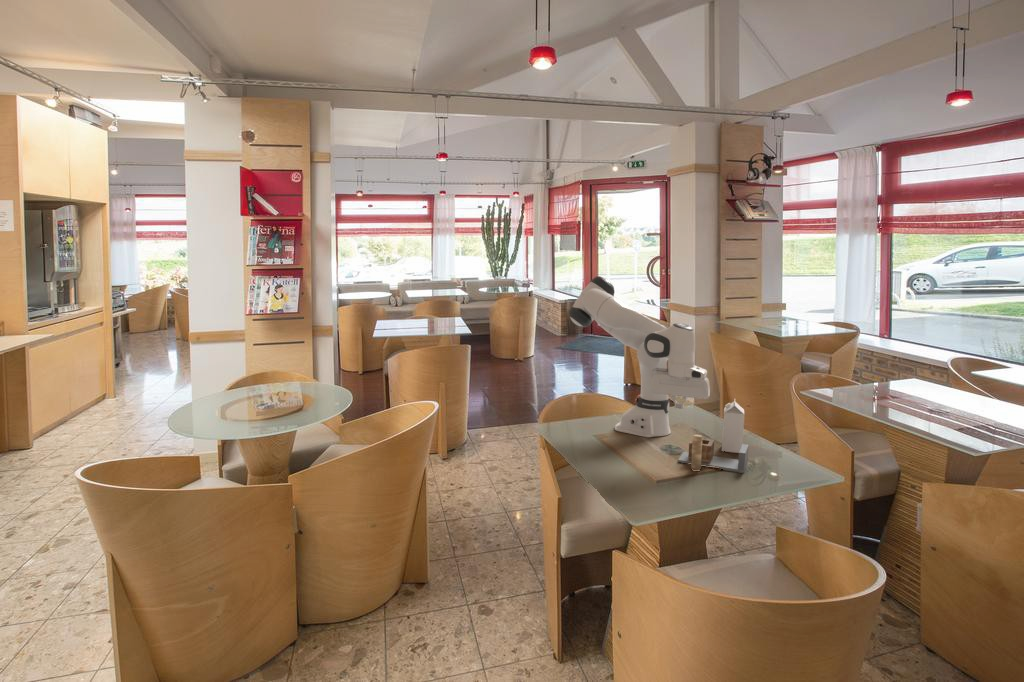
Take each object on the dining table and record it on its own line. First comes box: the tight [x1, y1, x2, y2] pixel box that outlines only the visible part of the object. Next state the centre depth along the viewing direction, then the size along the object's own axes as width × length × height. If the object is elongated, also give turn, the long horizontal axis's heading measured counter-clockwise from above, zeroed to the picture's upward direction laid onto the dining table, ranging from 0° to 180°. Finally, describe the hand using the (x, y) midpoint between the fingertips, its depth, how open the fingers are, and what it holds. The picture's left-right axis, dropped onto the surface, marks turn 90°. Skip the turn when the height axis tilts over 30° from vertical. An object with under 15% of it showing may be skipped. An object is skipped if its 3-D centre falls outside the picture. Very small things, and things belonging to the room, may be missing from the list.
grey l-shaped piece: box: [677, 443, 749, 474], centre depth 217 cm, size 22×10×7 cm, turn 63°
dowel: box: [690, 434, 704, 470], centre depth 210 cm, size 3×3×12 cm
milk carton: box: [721, 398, 745, 454], centre depth 231 cm, size 7×7×19 cm
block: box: [688, 437, 716, 463], centre depth 219 cm, size 7×7×6 cm
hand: (679, 408), depth 220 cm, fingers closed
